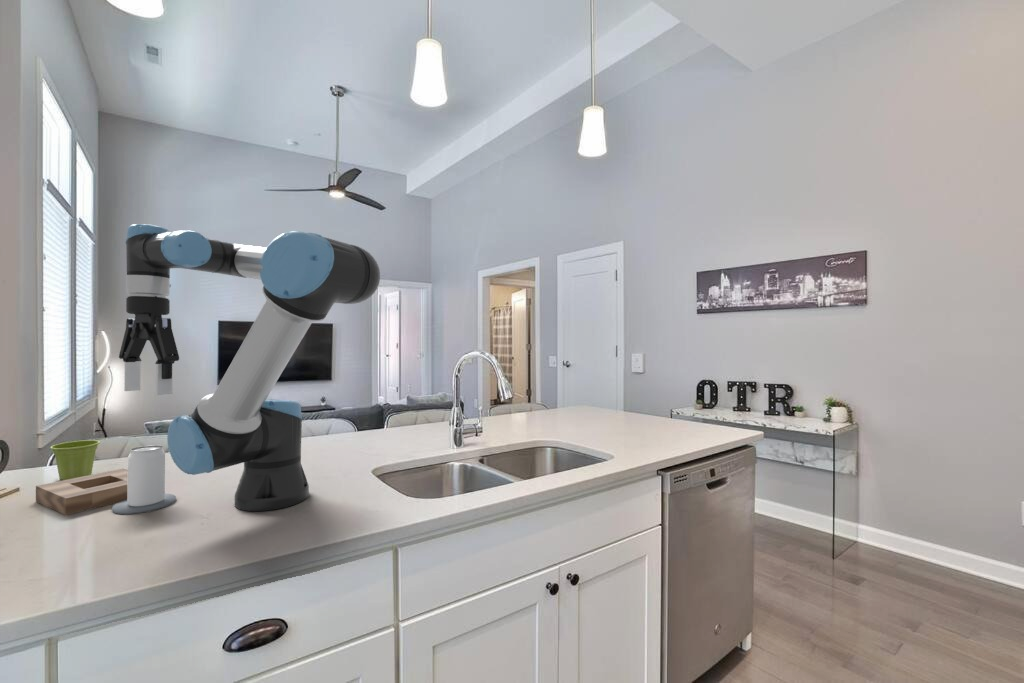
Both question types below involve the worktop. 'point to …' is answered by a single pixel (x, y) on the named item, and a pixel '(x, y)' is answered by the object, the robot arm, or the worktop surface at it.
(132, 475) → the can
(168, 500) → the slate mat
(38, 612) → the worktop surface
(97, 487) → the pocket block
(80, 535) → the worktop surface
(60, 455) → the plant pot
